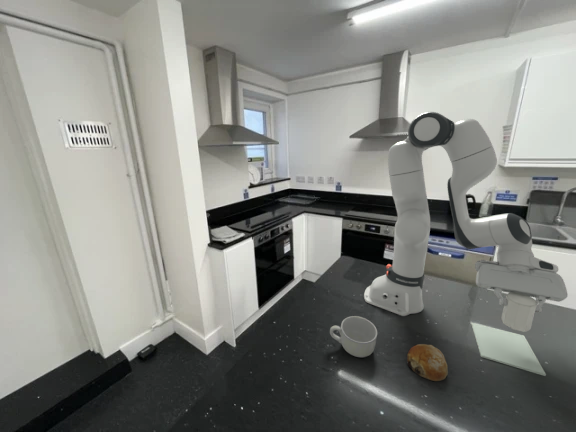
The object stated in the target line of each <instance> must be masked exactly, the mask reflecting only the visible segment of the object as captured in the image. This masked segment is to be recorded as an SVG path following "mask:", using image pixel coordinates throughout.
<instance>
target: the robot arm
mask: <svg viewBox="0 0 576 432" xmlns="http://www.w3.org/2000/svg"><path fill="white" fill-rule="evenodd" d="M479 122H480V121H478V120H476V119H473V118H466V119H465V118H464V119H461V120H459V121H456V122H454V121H453V120H451V119H450V118H448V117H445V115H443V114H442V113H440V112H439V113H438V112H435V111H426V112H423V113H420V114H419V115H417V116H416V117H414V119H413V120H412V121H411V122H410V124H409V126H408V129H407V137H406V138H405V139H404V140H402V141H398V142H396V143H395V144H394V143H393V145H392V146H391V147H389V150H388V158H387V163H388V164H387V165H388V168H387V169H388V175H389V182H390V189H391V196H392V198H393V203H394V204H395V210H396V215H397V220H396V222H395V225H394V235H393V236H394V237H393V240H394V241H393V248H394V249H393V257H392V264H390V263H388V264H387V265H386V266H385V268H386V269H385V270H386V272H385V274H384V275H381V276H378V277H376V278H374V280H373V281H372V283H371V284H370V285H369V286H367V287H366V289H365V290H364V293H363V298H364V301H365V303H368V304H370V305H373V306H375V307H378V308H380V309H383V310H386V311H388V312H390V313H391V312H392V313H394V314H397V315H399V316H401V317H406V316H408V315H410V314H418V313H420V312H423V310H424V302H423V288H424V285H425V266H426V265H425V264H426V257H427V252H428V246H429V238H430V234H431V233H430V231H431V215H430V210H429V209H430V207H429V201H428V196H427V189H426V182H425V174H424V167H423V153H424V151H426V150H428V149H431V148H434V147H441V148H443V149H444V151H445V152H446V154H447V155H448V158H449V160H450V161H449V162H450V163H451V166H452V171H451V172H452V173H451V176H450V177H449V179H448V180H447V183H446V185H447V194H448V200H449V206H450V211H451V216H452V222H453V230H454V231H453V232H454V238H455V241H456V243H457V244H458V245H460V246H462V247H463V248H465V249H467V250H474V249H480V248H486V247H496V248H497V252H496V260H495V261H494V260H493V261H492V260H486V259H480V260H477V261H475V263H474V266H475V267H474V269H475V270H476V276H475V284H476V286H477V287H478V288H482V289H486V290H487V289H488V290H492V291H493V294H494V295H495V296H496V298H497V299H498V301H499V302H498V303H499V305H500V306H503V307H504V306H506V305H508V303H507V299H506V298H505V297H504V296H503V295H502V293H503V292H504V293H507V294H508V293H510V292H516V293H521V294H525V295H527V296H530V297H532V298H535V301H536V305H537V306H536V310H535V313H538V314H541V313H542V311H543V310H542V309H543V308H542V306H543V305H544V304H545V302H546V300H547V301H553V302H560V303H561V302H562V301H564V300H566V299H567V298H568V291H567V290H568V289H567V286H566V283H565V280H564V279H563V277H562V275H560V274H558V272H559V266H558V265H557V264H554V263H552V262H549V261H545V260H542V259H540V258H538V257H535V254H534V252H533V251H532V247H533V240H532V239H533V237H532V232H531V231H532V230H531V226H530V225H529V222H527V220H526V219H524V218H523V217H521V216H520V215H517V214H515V213H513V212H509V213H501V214H495V215H490V216H485V217H480V218H472V217H470V215H469V214H470V213H469V208H468V204H467V198H466V196H467V192H468V191H469V190H470V189H471V188H473V187H474V186H477V184H479V183H481V182H483V181H484V180H485V179H486V178H488V177H489V176H490V175H491V174H492V173H493V171H495V170H496V167H497V164H498V159H497V154H496V151H495V148H494V146H493V143H492V142H491V140H490V137H489V135H488V133H487V132H486V130H485V129H484V127H483V126H482V125H481V123H479Z"/></svg>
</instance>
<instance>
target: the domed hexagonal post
mask: <svg viewBox="0 0 576 432" xmlns="http://www.w3.org/2000/svg"><path fill="white" fill-rule="evenodd" d="M505 299H507V303H508V305H506V306H503V309H502V313H501V321H502V324H503V325H505V326H507V327H509V329H512V330H514V331H519V332H523V333H525V332H529V331H531V328H532V325H533V322H534V316H535V314H536V312H535V310H536V306H537V301H536V299H534V297H530V296H527V295H525V294H521V293H516V292H510V293H508V292H507V295H505Z"/></svg>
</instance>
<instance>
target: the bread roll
mask: <svg viewBox="0 0 576 432" xmlns="http://www.w3.org/2000/svg"><path fill="white" fill-rule="evenodd" d="M406 357H407V359H406V362H407V366H408V367H409V368H410V369H411V370H412V371H413V372H415V374H417V375H418V376H419V377H421V378H424V379H427V380H429V381H432V382H433V381H434V382H440V381H443V380H446V377H447V376H448V374H449V371H448V366H449V365H448V363H447V360H446V358H445V356H444V354H443V352H442V351H441V350H440V349H438V347H436V346H434V345H432V344H425V343H418V344H416V345H413V346H412V347H410V348H409V350H408V353H407V354H406Z"/></svg>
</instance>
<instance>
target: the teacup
mask: <svg viewBox="0 0 576 432" xmlns="http://www.w3.org/2000/svg"><path fill="white" fill-rule="evenodd" d="M334 331H338V332H339V335H340V336H338V335H337V334H335V333H334ZM329 334H330V336H331V338H333V339H334V340H335V341H337V342H338V343H339V344H341V345H342V347H343V349H344V351H346V352H347V353H348V354H349V355H351V356H354V357H355V358H366V357H368V356H371V354H373V352H374V350H375V348H376V343H377V336H378V330H377V327H376V326H375V324H374V323H373V322H371V320H368V319H367V318H365V317H362V316H358V315H354V316H353V315H352V316H347V317H346V318H344V319H343V320H342V321H341V325H340V326H339V325H333V326H331V327H330V329H329Z"/></svg>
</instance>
